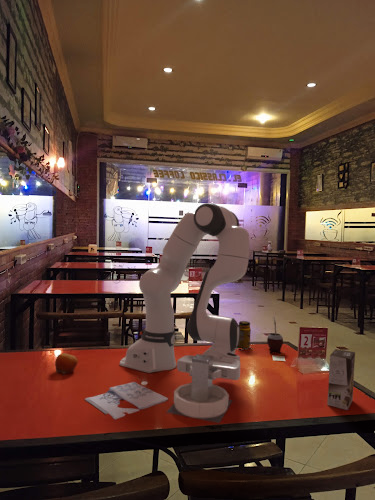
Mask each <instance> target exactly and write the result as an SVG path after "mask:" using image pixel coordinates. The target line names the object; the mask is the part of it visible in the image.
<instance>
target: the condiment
mask: <svg viewBox="0 0 375 500" xmlns="http://www.w3.org/2000/svg"><path fill="white" fill-rule="evenodd" d="M238 325H239V327H240V340H239V344H238V346H237V348H236V349H235V350H238V348H242V349H241V350H240V351H243V350H244V349H245V350H249V349H248V348H250V347H251V332H252V331H251V322H250V321H247V320H246V321H245V320H240V321H239V322H238Z"/></svg>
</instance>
